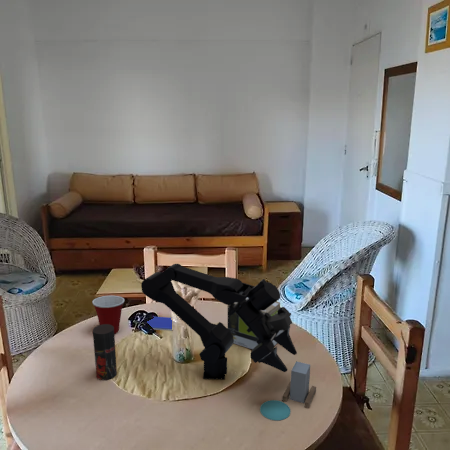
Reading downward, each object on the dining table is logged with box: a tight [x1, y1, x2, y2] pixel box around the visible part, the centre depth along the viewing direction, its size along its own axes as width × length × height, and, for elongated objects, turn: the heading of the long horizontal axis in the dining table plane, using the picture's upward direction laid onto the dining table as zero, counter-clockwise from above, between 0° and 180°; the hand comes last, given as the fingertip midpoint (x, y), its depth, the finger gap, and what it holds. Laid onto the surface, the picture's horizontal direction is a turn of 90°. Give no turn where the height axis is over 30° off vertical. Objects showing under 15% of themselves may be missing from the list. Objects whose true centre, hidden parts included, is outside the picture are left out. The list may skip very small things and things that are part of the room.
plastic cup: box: [92, 295, 125, 335], centre depth 160 cm, size 11×11×12 cm
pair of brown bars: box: [281, 380, 317, 409], centre depth 127 cm, size 7×8×2 cm
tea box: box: [227, 297, 281, 350], centre depth 153 cm, size 15×10×15 cm
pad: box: [259, 399, 292, 421], centre depth 121 cm, size 8×8×1 cm
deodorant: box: [92, 324, 118, 381], centre depth 134 cm, size 6×6×15 cm
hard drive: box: [147, 316, 172, 331], centre depth 167 cm, size 2×8×12 cm
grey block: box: [289, 361, 311, 404], centre depth 126 cm, size 4×5×9 cm
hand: (291, 362), depth 126 cm, fingers open, 9 cm apart
